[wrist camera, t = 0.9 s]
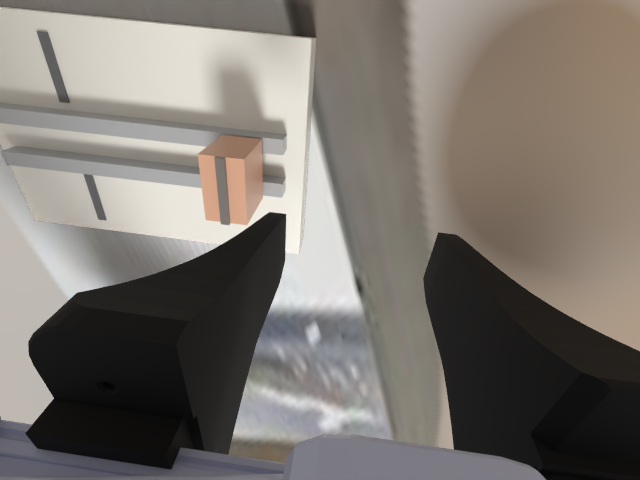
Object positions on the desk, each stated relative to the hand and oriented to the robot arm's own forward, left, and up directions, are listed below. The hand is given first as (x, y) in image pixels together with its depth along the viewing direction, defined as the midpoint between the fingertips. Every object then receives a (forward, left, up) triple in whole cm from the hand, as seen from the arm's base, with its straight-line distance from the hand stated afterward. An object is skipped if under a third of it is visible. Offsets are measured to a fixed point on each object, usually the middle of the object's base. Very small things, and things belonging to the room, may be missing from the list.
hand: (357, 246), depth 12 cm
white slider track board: (0, +12, -9) cm, 15 cm away
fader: (0, +6, -7) cm, 9 cm away
